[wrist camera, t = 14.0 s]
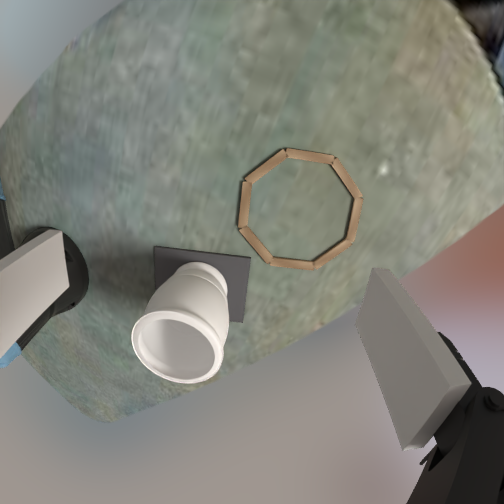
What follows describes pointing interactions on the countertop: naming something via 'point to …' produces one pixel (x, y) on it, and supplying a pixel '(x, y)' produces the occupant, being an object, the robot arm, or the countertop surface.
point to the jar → (185, 325)
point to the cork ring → (269, 166)
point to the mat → (227, 265)
